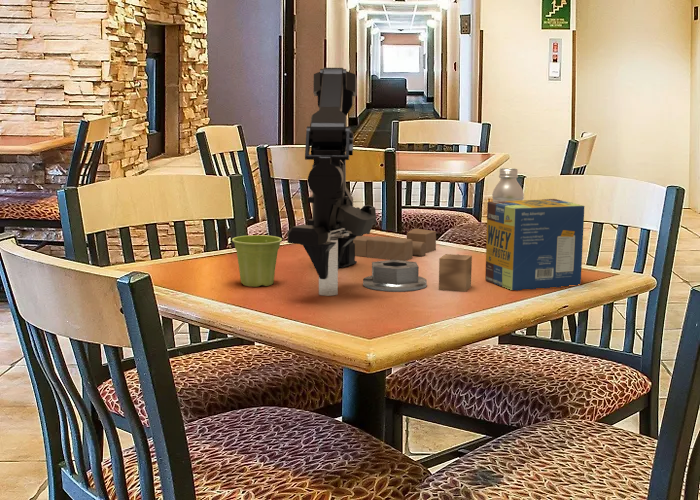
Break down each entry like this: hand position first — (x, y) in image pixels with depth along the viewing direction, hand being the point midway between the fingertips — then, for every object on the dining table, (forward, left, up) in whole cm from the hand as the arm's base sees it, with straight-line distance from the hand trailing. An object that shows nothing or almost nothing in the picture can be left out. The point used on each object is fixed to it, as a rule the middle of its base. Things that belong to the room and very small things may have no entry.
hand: (328, 277), depth 179 cm
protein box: (+29, +28, -3) cm, 40 cm away
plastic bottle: (+17, +46, -3) cm, 49 cm away
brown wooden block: (+18, +16, -3) cm, 24 cm away
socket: (+7, +13, -3) cm, 15 cm away
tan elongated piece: (0, 0, -3) cm, 3 cm away
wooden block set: (-11, +46, -4) cm, 47 cm away
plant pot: (-16, +1, -3) cm, 16 cm away
